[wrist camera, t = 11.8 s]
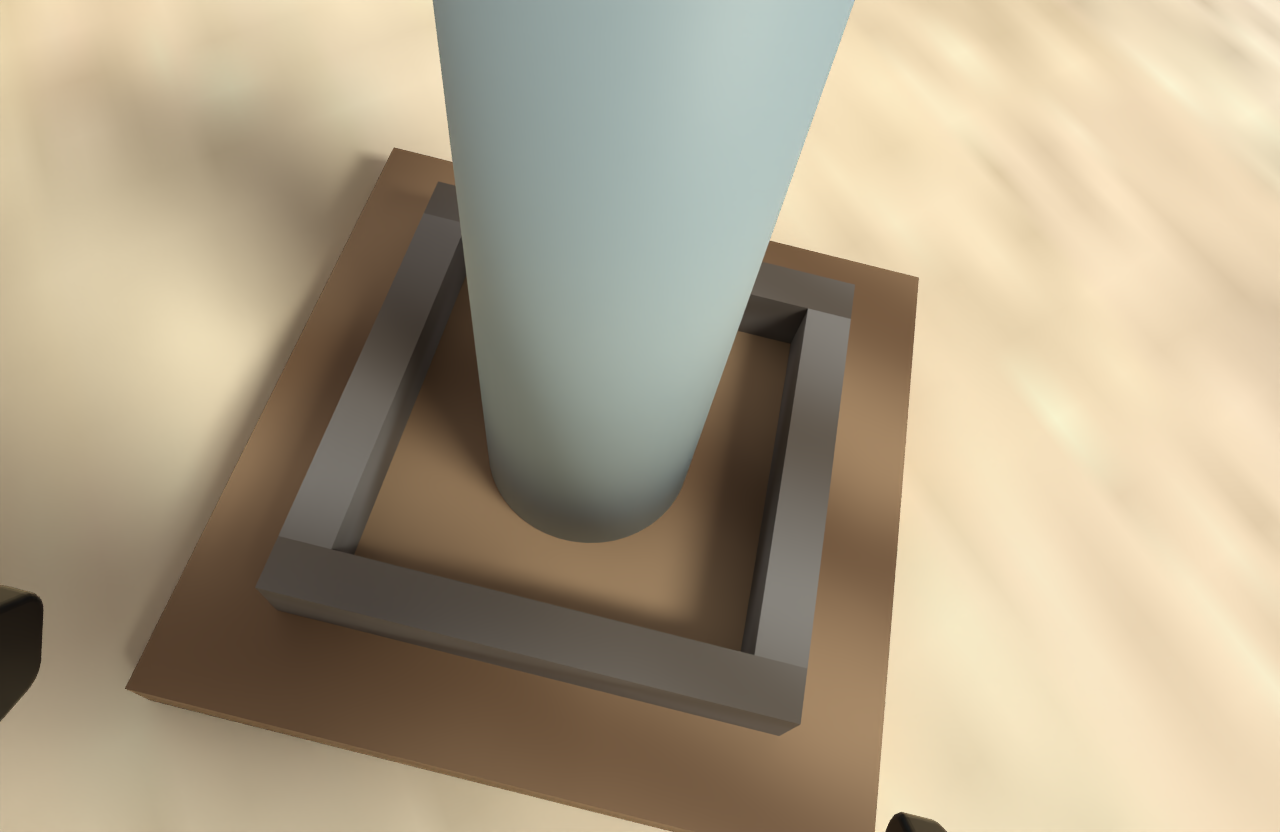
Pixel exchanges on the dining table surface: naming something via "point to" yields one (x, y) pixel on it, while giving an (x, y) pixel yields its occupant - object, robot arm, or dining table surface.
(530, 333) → the pale blue cylinder
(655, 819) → the cradle board
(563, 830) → the dining table surface
